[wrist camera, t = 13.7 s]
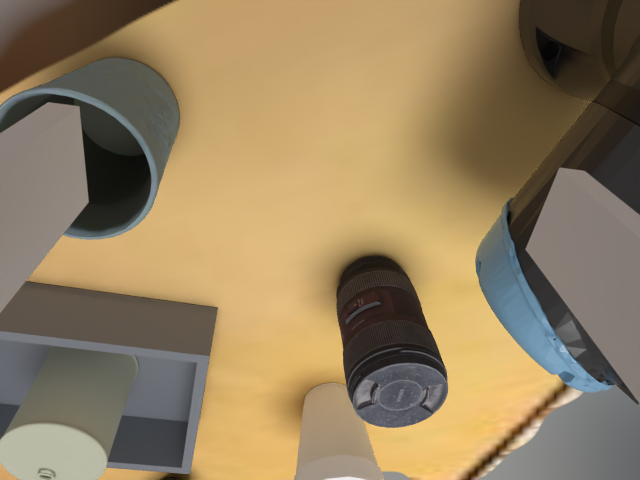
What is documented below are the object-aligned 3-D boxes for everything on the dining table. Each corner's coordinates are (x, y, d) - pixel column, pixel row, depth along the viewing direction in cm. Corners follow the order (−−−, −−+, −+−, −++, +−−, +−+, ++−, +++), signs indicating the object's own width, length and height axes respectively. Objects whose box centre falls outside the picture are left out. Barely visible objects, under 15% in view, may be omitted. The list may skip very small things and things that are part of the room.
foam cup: (280, 385, 59) (280, 490, 48) (356, 364, 58) (374, 467, 47) (305, 434, 64) (310, 539, 53) (376, 415, 63) (396, 519, 52)
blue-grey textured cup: (208, 144, 43) (185, 211, 33) (105, 185, 44) (51, 261, 34) (146, 25, 38) (95, 60, 27) (30, 75, 39) (-58, 126, 29)
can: (42, 381, 55) (-13, 484, 44) (56, 320, 50) (-2, 418, 40) (127, 400, 57) (94, 502, 47) (148, 343, 53) (116, 442, 43)
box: (217, 307, 52) (209, 356, 46) (199, 421, 61) (190, 474, 55) (-35, 273, 48) (-80, 321, 42) (-15, 400, 57) (-50, 455, 51)
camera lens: (329, 313, 54) (344, 432, 41) (335, 249, 49) (354, 360, 37) (404, 313, 54) (441, 431, 41) (416, 250, 50) (461, 360, 37)
